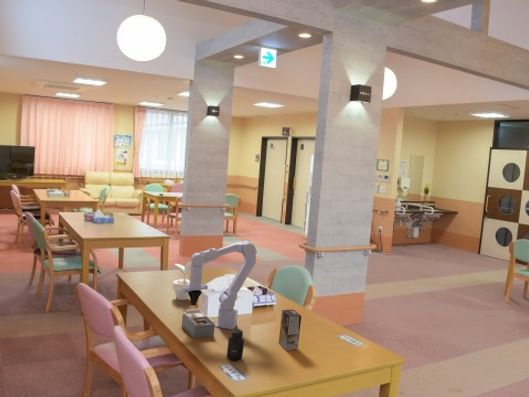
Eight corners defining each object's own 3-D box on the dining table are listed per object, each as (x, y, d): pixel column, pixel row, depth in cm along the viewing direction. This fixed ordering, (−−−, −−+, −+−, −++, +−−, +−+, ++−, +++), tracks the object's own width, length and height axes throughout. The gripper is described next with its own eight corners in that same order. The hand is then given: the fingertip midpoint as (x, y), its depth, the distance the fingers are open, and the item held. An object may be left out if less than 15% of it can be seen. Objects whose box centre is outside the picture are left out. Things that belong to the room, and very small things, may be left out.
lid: (185, 314, 240) (186, 309, 239) (199, 313, 243) (199, 308, 243) (191, 319, 234) (191, 314, 233) (204, 317, 237) (205, 313, 237)
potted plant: (196, 299, 284) (200, 256, 282) (182, 303, 274) (186, 259, 272) (179, 294, 291) (183, 252, 289) (166, 297, 281) (169, 255, 279)
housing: (181, 326, 240) (182, 312, 239) (200, 324, 245) (201, 310, 244) (193, 338, 226) (195, 323, 225) (213, 336, 231) (215, 321, 230)
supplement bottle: (230, 362, 204) (232, 334, 203) (223, 355, 210) (226, 328, 209) (245, 360, 207) (247, 333, 206) (238, 354, 213) (241, 327, 212)
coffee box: (298, 349, 225) (302, 315, 224) (285, 350, 223) (289, 316, 221) (290, 342, 233) (293, 309, 232) (277, 342, 231) (281, 309, 230)
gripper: (189, 281, 232) (186, 309, 233) (212, 278, 242) (210, 305, 243) (180, 278, 236) (177, 305, 238) (203, 274, 247) (201, 301, 248)
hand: (193, 304), depth 241 cm, fingers closed
